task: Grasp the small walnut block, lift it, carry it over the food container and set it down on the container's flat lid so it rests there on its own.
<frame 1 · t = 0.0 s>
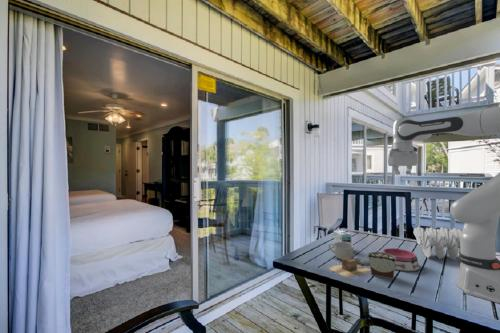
hand: (403, 174, 132), 48 cm above the table, fingers open, 8 cm apart
spiral staircase: (443, 258, 139), on the table
food container: (382, 275, 119), on the table
walnut block: (349, 269, 126), resting on oak board
teacup: (341, 258, 142), on the table
oak board: (349, 269, 126), on the table
grey rounded dome: (364, 262, 135), on the table
dog bowl: (399, 265, 131), on the table
light bulb box: (342, 249, 158), on the table
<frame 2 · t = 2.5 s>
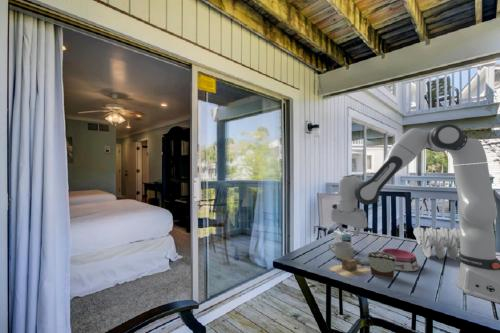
hand: (348, 233, 126), 18 cm above the table, fingers open, 8 cm apart
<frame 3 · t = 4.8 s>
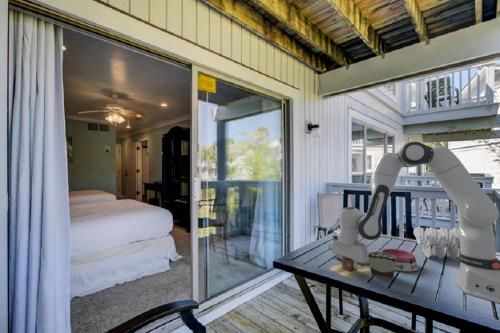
hand: (349, 265, 126), 2 cm above the table, fingers closed on walnut block, 5 cm apart
walnut block: (349, 269, 126), resting on oak board, touching gripper
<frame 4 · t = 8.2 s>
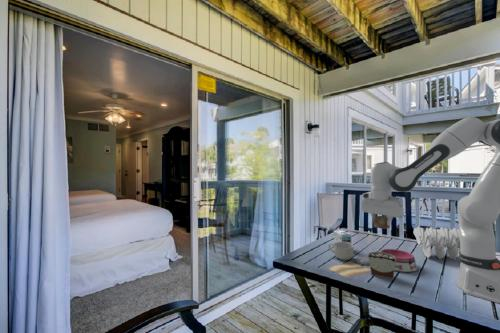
hand: (381, 224, 119), 24 cm above the table, fingers closed on walnut block, 5 cm apart
walnut block: (381, 227, 119), point 23 cm above the table, touching gripper
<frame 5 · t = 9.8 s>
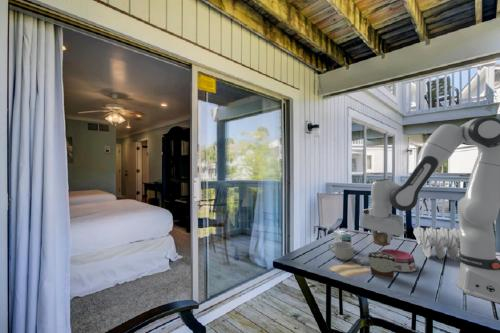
hand: (381, 240, 119), 16 cm above the table, fingers closed on walnut block, 5 cm apart
walnut block: (381, 244, 119), point 15 cm above the table, touching gripper
when the fingers open (13 cm above the table, at t = 11.4 s): walnut block drops 2 cm, resting on food container.
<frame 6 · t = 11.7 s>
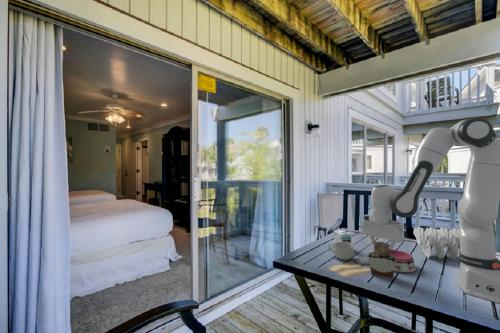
hand: (382, 247, 119), 13 cm above the table, fingers open, 7 cm apart
food container: (382, 275, 119), on the table, touching walnut block
walnut block: (382, 253, 119), point 10 cm above the table, touching food container
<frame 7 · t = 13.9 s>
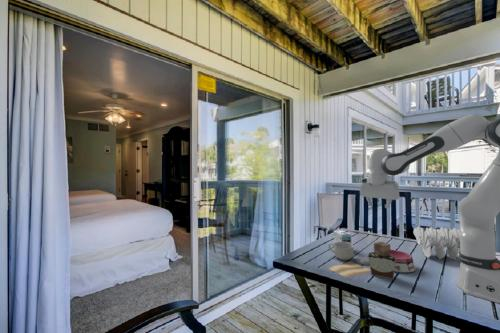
hand: (378, 206, 129), 31 cm above the table, fingers open, 8 cm apart
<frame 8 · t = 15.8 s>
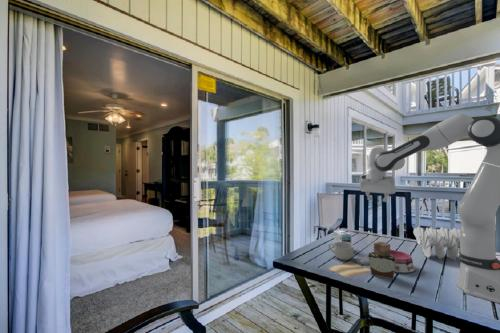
hand: (377, 200, 139), 33 cm above the table, fingers open, 8 cm apart
at the end: walnut block 0.3 cm from the food container (horizontally); walnut block point 9.9 cm above the table; the gripper is holding nothing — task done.
